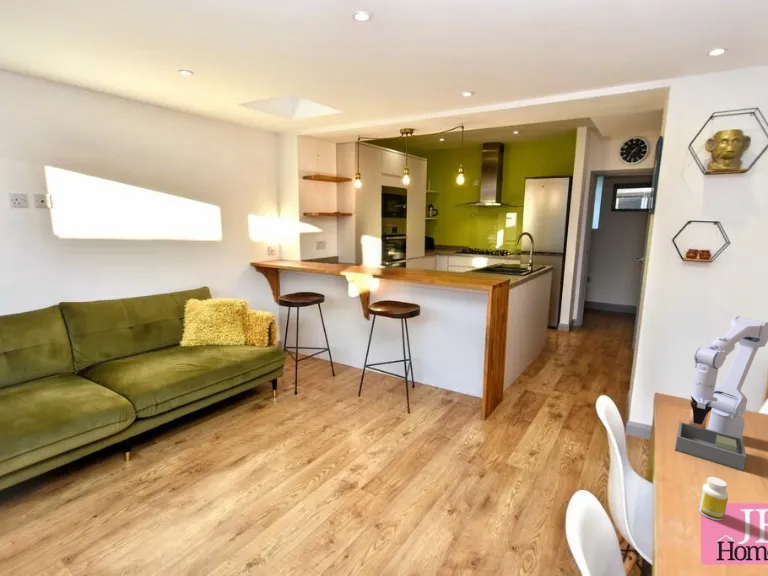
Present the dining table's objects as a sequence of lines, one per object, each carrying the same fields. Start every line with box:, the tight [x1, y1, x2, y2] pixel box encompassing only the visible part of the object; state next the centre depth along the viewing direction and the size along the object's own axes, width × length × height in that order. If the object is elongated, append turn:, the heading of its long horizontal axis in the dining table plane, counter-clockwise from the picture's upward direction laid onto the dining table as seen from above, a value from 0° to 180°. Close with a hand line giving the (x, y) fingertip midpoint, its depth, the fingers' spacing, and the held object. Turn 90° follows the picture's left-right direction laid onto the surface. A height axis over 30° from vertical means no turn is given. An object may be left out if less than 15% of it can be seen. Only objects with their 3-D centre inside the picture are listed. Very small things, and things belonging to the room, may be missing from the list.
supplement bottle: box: [698, 476, 729, 521], centre depth 109 cm, size 5×5×10 cm
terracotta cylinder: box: [688, 407, 709, 429], centre depth 140 cm, size 5×5×7 cm
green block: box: [714, 435, 737, 453], centre depth 136 cm, size 5×5×5 cm
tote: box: [674, 420, 747, 472], centre depth 139 cm, size 18×14×5 cm
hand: (697, 420), depth 140 cm, fingers closed on terracotta cylinder, 5 cm apart
